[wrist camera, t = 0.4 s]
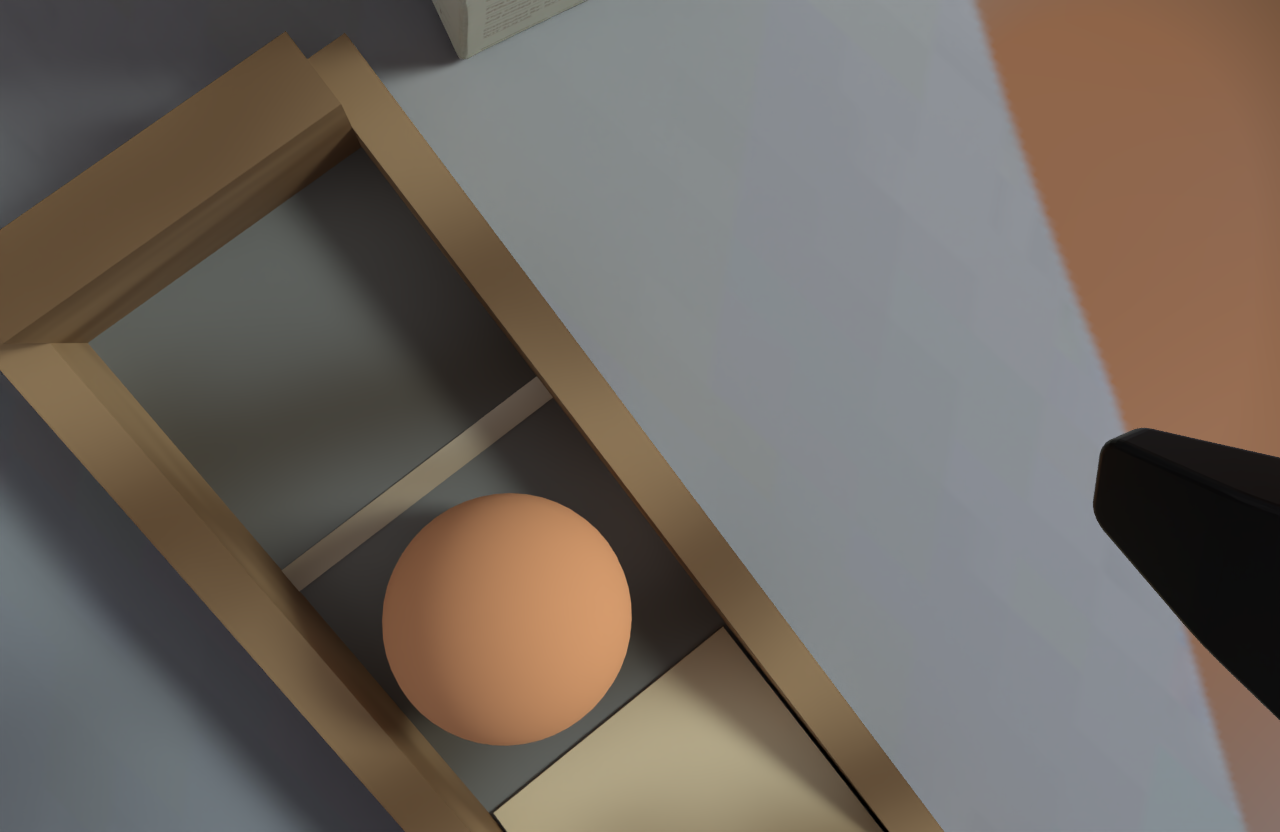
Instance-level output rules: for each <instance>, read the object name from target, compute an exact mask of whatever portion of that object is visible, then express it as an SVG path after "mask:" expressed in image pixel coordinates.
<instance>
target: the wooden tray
mask: <svg viewBox="0 0 1280 832" xmlns="http://www.w3.org/2000/svg"><path fill="white" fill-rule="evenodd" d="M0 370H1V372H2V373H3V374H4V375H5V376H6V377H7V378H8V380H9V381H10V382H11V383H12V384H13V385H14V386H15V388H16V389H17V390H18V391H19V392H20V393H21V394H22V396H23V397H24V398H25V399H26V400H27V401H28V402H29V404H30V405H31V406H32V407H33V408H34V409H35V410H36V412H37V413H38V414H39V415H40V416H41V417H42V418H43V420H44V421H45V422H46V423H47V424H48V425H49V426H50V427H51V429H52V430H53V431H54V432H55V433H56V434H57V435H58V437H59V438H60V439H61V440H62V441H63V442H64V443H65V445H66V446H67V447H68V448H69V449H70V450H71V451H72V453H73V454H74V455H75V456H76V457H77V458H78V459H79V461H80V462H81V463H82V464H83V465H84V466H85V467H86V469H87V470H88V471H89V472H90V473H91V474H92V475H93V476H94V478H95V479H96V480H97V481H98V482H99V483H100V484H101V486H102V487H103V488H104V489H105V490H106V491H107V492H108V494H109V495H110V496H111V497H112V498H113V499H114V500H115V502H116V503H117V504H118V505H119V506H120V507H121V508H122V510H123V511H124V512H125V513H126V514H127V515H128V516H129V518H130V519H131V520H132V521H133V522H134V523H135V524H136V526H137V527H138V528H139V529H140V530H141V531H142V532H143V533H144V535H145V536H146V537H147V538H148V539H149V540H150V541H151V543H152V544H153V545H154V546H155V547H156V548H157V549H158V551H159V552H160V553H161V554H162V555H163V556H164V557H165V559H166V560H167V561H168V562H169V563H170V564H171V565H172V567H173V568H174V569H175V570H176V571H177V572H178V573H179V575H180V576H181V577H182V578H183V579H184V580H185V581H186V583H187V584H188V585H189V586H190V587H191V588H192V589H193V590H194V592H195V593H196V594H197V595H198V596H199V597H200V598H201V600H202V601H203V602H204V603H205V604H206V605H207V606H208V608H209V609H210V610H211V611H212V612H213V613H214V614H215V616H216V617H217V618H218V619H219V620H220V621H221V622H222V624H223V625H224V626H225V627H226V628H227V629H228V630H229V632H230V633H231V634H232V635H233V636H234V637H235V638H236V639H237V641H238V642H239V643H240V644H241V645H242V646H243V647H244V649H245V650H246V651H247V652H248V653H249V654H250V655H251V657H252V658H253V659H254V660H255V661H256V662H257V663H258V665H259V666H260V667H261V668H262V669H263V670H264V671H265V673H266V674H267V675H268V676H269V677H270V678H271V679H272V681H273V682H274V683H275V684H276V685H277V686H278V687H279V689H280V690H281V691H282V692H283V693H284V694H285V695H286V696H287V698H288V699H289V700H290V701H291V702H292V703H293V704H294V706H295V707H296V708H297V709H298V710H299V711H300V712H301V714H302V715H303V716H304V717H305V718H306V719H307V720H308V722H309V723H310V724H311V725H312V726H313V727H314V728H315V730H316V731H317V732H318V733H319V734H320V735H321V736H322V738H323V739H324V740H325V741H326V742H327V743H328V744H329V746H330V747H331V748H332V749H333V750H334V751H335V752H336V753H337V755H338V756H339V757H340V758H341V759H342V760H343V761H344V763H345V764H346V765H347V766H348V767H349V768H350V769H351V771H352V772H353V773H354V774H355V775H356V776H357V777H358V779H359V780H360V781H361V782H362V783H363V784H364V785H365V787H366V788H367V789H368V790H369V791H370V792H371V793H372V795H373V796H374V797H375V798H376V799H377V800H378V801H379V802H380V804H381V805H382V806H383V807H384V808H385V809H386V810H387V812H388V813H389V814H390V815H391V816H392V817H393V818H394V820H395V821H396V822H397V823H398V824H399V825H400V826H401V828H402V829H403V830H404V831H405V832H944V831H943V829H942V828H941V827H940V825H939V824H938V823H937V821H936V820H935V819H934V817H933V816H932V815H931V813H930V812H929V811H928V809H927V808H926V807H925V805H924V804H923V803H922V801H921V800H920V799H919V797H918V796H917V795H916V793H915V792H914V791H913V789H912V788H911V787H910V785H909V784H908V783H907V781H906V780H905V779H904V777H903V776H902V775H901V773H900V772H899V771H898V769H897V768H896V767H895V765H894V764H893V763H892V761H891V760H890V759H889V757H888V756H887V755H886V753H885V752H884V751H883V749H882V748H881V747H880V745H879V744H878V743H877V741H876V740H875V739H874V737H873V736H872V735H871V733H870V732H869V731H868V729H867V728H866V727H865V725H864V724H863V723H862V721H861V720H860V719H859V717H858V716H857V715H856V713H855V712H854V711H853V709H852V708H851V707H850V705H849V704H848V703H847V701H846V700H845V699H844V697H843V696H842V695H841V693H840V692H839V691H838V689H837V688H836V687H835V685H834V684H833V683H832V682H831V680H830V679H829V678H828V676H827V675H826V674H825V672H824V671H823V670H822V668H821V667H820V666H819V664H818V663H817V662H816V660H815V659H814V658H813V656H812V655H811V654H810V652H809V651H808V650H807V648H806V647H805V646H804V644H803V643H802V642H801V640H800V639H799V638H798V636H797V635H796V634H795V632H794V631H793V630H792V628H791V627H790V626H789V624H788V623H787V622H786V620H785V619H784V618H783V616H782V615H781V614H780V612H779V611H778V610H777V608H776V607H775V606H774V604H773V603H772V602H771V600H770V599H769V598H768V596H767V595H766V594H765V592H764V591H763V590H762V588H761V587H760V586H759V584H758V583H757V582H756V580H755V579H754V578H753V576H752V575H751V574H750V572H749V571H748V570H747V568H746V567H745V566H744V564H743V563H742V562H741V560H740V559H739V558H738V556H737V555H736V554H735V552H734V551H733V550H732V548H731V547H730V546H729V544H728V543H727V542H726V540H725V539H724V538H723V536H722V535H721V534H720V532H719V531H718V530H717V528H716V527H715V526H714V524H713V523H712V522H711V520H710V519H709V518H708V516H707V515H706V514H705V512H704V511H703V510H702V508H701V507H700V506H699V504H698V503H697V502H696V500H695V499H694V498H693V496H692V495H691V494H690V492H689V491H688V490H687V488H686V487H685V486H684V484H683V483H682V482H681V480H680V479H679V478H678V476H677V475H676V474H675V472H674V471H673V470H672V468H671V467H670V466H669V464H668V463H667V462H666V460H665V459H664V458H663V456H662V455H661V454H660V452H659V451H658V450H657V448H656V447H655V446H654V444H653V443H652V442H651V440H650V439H649V438H648V436H647V435H646V434H645V432H644V431H643V430H642V428H641V427H640V426H639V424H638V423H637V422H636V420H635V419H634V418H633V416H632V415H631V414H630V412H629V411H628V410H627V408H626V407H625V406H624V404H623V403H622V402H621V400H620V399H619V398H618V396H617V395H616V394H615V392H614V391H613V390H612V388H611V387H610V386H609V384H608V383H607V382H606V380H605V379H604V378H603V376H602V375H601V374H600V372H599V371H598V370H597V368H596V367H595V366H594V364H593V363H592V362H591V360H590V359H589V358H588V356H587V355H586V354H585V352H584V351H583V350H582V348H581V347H580V346H579V344H578V343H577V342H576V340H575V339H574V338H573V336H572V335H571V334H570V332H569V331H568V330H567V328H566V327H565V326H564V324H563V323H562V322H561V320H560V319H559V318H558V316H557V315H556V314H555V312H554V311H553V310H552V308H551V307H550V306H549V304H548V303H547V302H546V300H545V299H544V298H543V296H542V295H541V294H540V292H539V291H538V290H537V288H536V287H535V286H534V284H533V283H532V282H531V280H530V279H529V278H528V276H527V275H526V274H525V272H524V271H523V270H522V268H521V267H520V266H519V264H518V263H517V262H516V260H515V259H514V258H513V256H512V255H511V254H510V252H509V251H508V250H507V248H506V247H505V246H504V244H503V243H502V242H501V240H500V239H499V238H498V236H497V235H496V234H495V232H494V231H493V230H492V228H491V227H490V226H489V224H488V223H487V222H486V220H485V219H484V218H483V216H482V215H481V214H480V212H479V211H478V210H477V208H476V207H475V206H474V204H473V203H472V202H471V200H470V199H469V198H468V196H467V195H466V194H465V192H464V191H463V190H462V188H461V187H460V186H459V184H458V183H457V182H456V180H455V179H454V178H453V176H452V175H451V174H450V172H449V171H448V170H447V168H446V167H445V166H444V164H443V163H442V162H441V160H440V159H439V158H438V156H437V155H436V154H435V152H434V151H433V150H432V148H431V147H430V146H429V144H428V143H427V142H426V140H425V139H424V138H423V136H422V135H421V134H420V132H419V131H418V130H417V128H416V127H415V126H414V124H413V123H412V122H411V120H410V119H409V118H408V116H407V115H406V114H405V112H404V111H403V110H402V108H401V107H400V106H399V104H398V103H397V102H396V100H395V99H394V98H393V96H392V95H391V94H390V92H389V91H388V90H387V88H386V87H385V86H384V84H383V83H382V82H381V80H380V79H379V78H378V76H377V75H376V74H375V72H374V71H373V70H372V68H371V67H370V66H369V64H368V63H367V62H366V60H365V59H364V58H363V56H362V55H361V54H360V52H359V51H358V50H357V48H356V47H355V46H354V44H353V43H352V42H351V40H350V39H349V38H348V36H347V35H346V34H345V33H344V34H343V35H341V36H340V37H338V38H337V39H335V40H334V41H333V42H331V43H330V44H328V45H327V46H325V47H324V48H323V49H321V50H320V51H318V52H317V53H315V54H314V55H313V56H311V57H310V58H308V59H307V58H306V57H305V56H304V55H303V53H302V52H301V51H300V49H299V48H298V47H297V45H296V44H295V43H294V41H293V40H292V39H291V37H290V36H289V35H288V33H287V32H286V31H285V32H284V33H282V34H281V35H279V36H278V37H277V38H275V39H274V40H272V41H271V42H269V43H268V44H267V45H265V46H264V47H262V48H261V49H259V50H258V51H256V52H255V53H254V54H252V55H251V56H249V57H248V58H246V59H245V60H244V61H242V62H241V63H239V64H238V65H236V66H235V67H233V68H232V69H231V70H229V71H228V72H226V73H225V74H223V75H222V76H221V77H219V78H218V79H216V80H215V81H213V82H212V83H210V84H209V85H208V86H206V87H205V88H203V89H202V90H200V91H199V92H198V93H196V94H195V95H193V96H192V97H190V98H189V99H187V100H186V101H185V102H183V103H182V104H180V105H179V106H177V107H176V108H175V109H173V110H172V111H170V112H169V113H167V114H166V115H164V116H163V117H162V118H160V119H159V120H157V121H156V122H154V123H153V124H151V125H150V126H149V127H147V128H146V129H144V130H143V131H141V132H140V133H139V134H137V135H136V136H134V137H133V138H131V139H130V140H128V141H127V142H126V143H124V144H123V145H121V146H120V147H118V148H117V149H116V150H114V151H113V152H111V153H110V154H108V155H107V156H105V157H104V158H103V159H101V160H100V161H98V162H97V163H95V164H94V165H93V166H91V167H90V168H88V169H87V170H85V171H84V172H82V173H81V174H80V175H78V176H77V177H75V178H74V179H72V180H71V181H70V182H68V183H67V184H65V185H64V186H62V187H61V188H59V189H58V190H57V191H55V192H54V193H52V194H51V195H49V196H48V197H47V198H45V199H44V200H42V201H41V202H39V203H38V204H36V205H35V206H34V207H32V208H31V209H29V210H28V211H26V212H25V213H24V214H22V215H21V216H19V217H18V218H16V219H15V220H13V221H12V222H11V223H9V224H8V225H6V226H5V227H3V228H2V229H1V230H0ZM504 493H517V494H528V495H533V496H538V497H543V498H546V499H549V500H551V501H554V502H557V503H559V504H561V505H563V506H565V507H567V508H569V509H571V510H572V511H574V512H575V513H577V514H578V515H580V516H581V517H583V518H584V519H586V520H587V521H588V522H589V523H590V524H591V525H592V526H593V527H595V528H596V529H597V530H598V531H599V532H600V534H601V535H602V536H603V537H604V538H605V540H606V541H607V542H608V543H609V545H610V547H611V548H612V550H613V551H614V553H615V554H616V556H617V558H618V561H619V563H620V565H621V567H622V569H623V572H624V574H625V578H626V581H627V584H628V588H629V593H630V599H631V614H632V621H631V631H630V640H629V644H628V648H627V653H626V656H625V658H624V661H623V664H622V666H621V669H620V671H619V673H618V675H617V677H616V678H615V680H614V682H613V684H612V685H611V687H610V688H609V689H608V691H607V692H606V694H605V695H604V697H603V698H602V699H601V700H600V701H599V702H598V703H597V705H596V706H595V707H594V708H593V709H592V710H591V711H590V712H589V713H587V714H586V715H585V716H584V717H583V718H582V719H581V720H579V721H578V722H576V723H575V724H573V725H572V726H570V727H569V728H567V729H565V730H563V731H561V732H559V733H557V734H555V735H553V736H550V737H548V738H545V739H542V740H539V741H535V742H531V743H527V744H520V745H510V746H500V745H488V744H481V743H476V742H473V741H469V740H466V739H462V738H460V737H458V736H456V735H453V734H451V733H449V732H447V731H445V730H444V729H442V728H440V727H439V726H437V725H435V724H434V723H432V722H431V721H430V720H429V719H427V718H426V717H425V716H424V715H422V714H421V713H420V712H419V711H418V710H417V709H416V708H415V706H414V705H413V704H412V703H411V702H410V701H409V700H408V698H407V697H406V695H405V694H404V692H403V691H402V690H401V688H400V686H399V684H398V682H397V680H396V678H395V676H394V674H393V672H392V670H391V668H390V665H389V662H388V659H387V656H386V652H385V647H384V641H383V628H382V615H383V604H384V598H385V594H386V589H387V585H388V583H389V580H390V577H391V575H392V572H393V570H394V568H395V566H396V564H397V562H398V560H399V558H400V557H401V555H402V553H403V552H404V550H405V549H406V548H407V546H408V545H409V543H410V542H411V541H412V539H413V538H414V537H415V536H416V535H417V534H418V533H419V532H420V531H421V530H422V529H423V528H424V527H425V526H426V525H427V524H428V523H430V522H431V521H432V520H433V519H434V518H436V517H437V516H439V515H440V514H442V513H444V512H445V511H447V510H448V509H450V508H452V507H454V506H456V505H459V504H461V503H463V502H465V501H468V500H472V499H475V498H478V497H482V496H487V495H493V494H504Z"/></svg>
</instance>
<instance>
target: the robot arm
mask: <svg viewBox="0 0 1280 832" xmlns="http://www.w3.org/2000/svg"><path fill="white" fill-rule="evenodd" d="M1093 509H1094V514H1095V516H1096V519H1097V521H1098V523H1099V525H1100V526H1101V528H1102V529H1103V530H1104V532H1105V533H1106V534H1107V535H1108V536H1109V537H1110V539H1111V540H1112V541H1113V542H1114V543H1115V544H1116V546H1117V547H1118V548H1119V549H1120V550H1121V551H1122V553H1123V554H1124V555H1125V556H1126V557H1127V558H1128V560H1129V561H1130V562H1131V563H1132V564H1133V565H1134V567H1135V568H1136V569H1137V570H1138V571H1139V572H1140V574H1141V575H1142V576H1143V577H1144V578H1145V579H1146V581H1147V582H1148V583H1149V584H1150V585H1151V586H1152V588H1153V589H1154V590H1155V591H1156V592H1157V593H1158V595H1159V596H1160V597H1161V598H1162V599H1163V600H1164V602H1165V603H1166V604H1167V605H1168V606H1169V607H1170V609H1171V610H1172V611H1173V612H1174V613H1175V614H1176V616H1177V617H1178V618H1179V619H1180V620H1181V621H1182V623H1183V624H1184V625H1185V626H1186V627H1187V628H1188V629H1189V630H1190V632H1191V633H1192V634H1193V635H1194V636H1195V637H1196V638H1197V639H1198V640H1199V641H1200V643H1201V644H1202V645H1203V646H1204V647H1205V648H1206V649H1207V650H1208V651H1209V652H1210V653H1211V654H1212V655H1213V656H1214V657H1215V658H1216V659H1217V660H1218V661H1219V662H1220V663H1221V664H1222V665H1223V666H1224V667H1225V668H1226V669H1227V670H1228V671H1229V672H1230V673H1231V674H1232V675H1233V676H1234V677H1235V678H1236V679H1237V680H1238V681H1240V682H1241V683H1242V684H1243V685H1244V686H1245V687H1246V688H1247V689H1248V690H1249V691H1250V692H1251V693H1252V694H1253V695H1254V696H1255V697H1256V698H1257V699H1258V700H1259V701H1260V702H1261V703H1262V704H1263V705H1264V706H1266V707H1267V708H1268V709H1269V710H1270V711H1271V712H1272V713H1273V714H1274V715H1275V716H1276V717H1277V718H1278V719H1279V720H1280V458H1279V457H1275V456H1270V455H1266V454H1261V453H1257V452H1253V451H1247V450H1243V449H1239V448H1235V447H1230V446H1225V445H1221V444H1217V443H1212V442H1208V441H1203V440H1198V439H1195V438H1190V437H1186V436H1181V435H1177V434H1172V433H1168V432H1163V431H1159V430H1155V429H1149V428H1139V429H1134V430H1132V431H1129V432H1127V433H1125V434H1122V435H1120V436H1118V437H1116V438H1113V439H1111V440H1109V441H1108V442H1106V443H1105V445H1104V446H1103V447H1102V449H1101V452H1100V456H1099V463H1098V470H1097V478H1096V485H1095V492H1094V499H1093Z"/></svg>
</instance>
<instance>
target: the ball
mask: <svg viewBox="0 0 1280 832" xmlns="http://www.w3.org/2000/svg"><path fill="white" fill-rule="evenodd" d="M631 621H632V614H631V599H630V593H629V588H628V584H627V581H626V578H625V574H624V572H623V569H622V567H621V565H620V563H619V561H618V558H617V556H616V554H615V553H614V551H613V550H612V548H611V547H610V545H609V543H608V542H607V541H606V540H605V538H604V537H603V536H602V535H601V534H600V532H599V531H598V530H597V529H596V528H595V527H593V526H592V525H591V524H590V523H589V522H588V521H587V520H586V519H584V518H583V517H581V516H580V515H578V514H577V513H575V512H574V511H572V510H571V509H569V508H567V507H565V506H563V505H561V504H559V503H557V502H554V501H551V500H549V499H546V498H543V497H538V496H533V495H528V494H517V493H504V494H493V495H487V496H482V497H478V498H475V499H472V500H468V501H465V502H463V503H461V504H459V505H456V506H454V507H452V508H450V509H448V510H447V511H445V512H444V513H442V514H440V515H439V516H437V517H436V518H434V519H433V520H432V521H431V522H430V523H428V524H427V525H426V526H425V527H424V528H423V529H422V530H421V531H420V532H419V533H418V534H417V535H416V536H415V537H414V538H413V539H412V541H411V542H410V543H409V545H408V546H407V548H406V549H405V550H404V552H403V553H402V555H401V557H400V558H399V560H398V562H397V564H396V566H395V568H394V570H393V572H392V575H391V577H390V580H389V583H388V585H387V589H386V594H385V598H384V604H383V615H382V628H383V641H384V647H385V652H386V656H387V659H388V662H389V665H390V668H391V670H392V672H393V674H394V676H395V678H396V680H397V682H398V684H399V686H400V688H401V690H402V691H403V692H404V694H405V695H406V697H407V698H408V700H409V701H410V702H411V703H412V704H413V705H414V706H415V708H416V709H417V710H418V711H419V712H420V713H421V714H422V715H424V716H425V717H426V718H427V719H429V720H430V721H431V722H432V723H434V724H435V725H437V726H439V727H440V728H442V729H444V730H445V731H447V732H449V733H451V734H453V735H456V736H458V737H460V738H462V739H466V740H469V741H473V742H476V743H481V744H488V745H500V746H510V745H520V744H527V743H531V742H535V741H539V740H542V739H545V738H548V737H550V736H553V735H555V734H557V733H559V732H561V731H563V730H565V729H567V728H569V727H570V726H572V725H573V724H575V723H576V722H578V721H579V720H581V719H582V718H583V717H584V716H585V715H586V714H587V713H589V712H590V711H591V710H592V709H593V708H594V707H595V706H596V705H597V703H598V702H599V701H600V700H601V699H602V698H603V697H604V695H605V694H606V692H607V691H608V689H609V688H610V687H611V685H612V684H613V682H614V680H615V678H616V677H617V675H618V673H619V671H620V669H621V666H622V664H623V661H624V658H625V656H626V653H627V648H628V644H629V640H630V631H631Z"/></svg>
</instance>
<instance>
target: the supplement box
mask: <svg viewBox="0 0 1280 832" xmlns="http://www.w3.org/2000/svg"><path fill="white" fill-rule="evenodd" d="M585 1H587V0H432V2H433V4H434V6H435V8H436V10H437V12H438V14H439V17H440V19H441V21H442V23H443V25H444V27H445V29H446V31H447V34H448V36H449V38H450V40H451V42H452V45H453V47H454V49H455V51H456V53H457V55H458V57H459V58H460V59H468V58H470V57H472V56H473V55H475V54H477V53H479V52H481V51H483V50H485V49H487V48H489V47H491V46H493V45H495V44H497V43H499V42H501V41H503V40H505V39H507V38H509V37H511V36H514V35H516V34H518V33H520V32H522V31H524V30H526V29H528V28H530V27H532V26H534V25H536V24H538V23H540V22H543V21H545V20H547V19H549V18H551V17H553V16H555V15H557V14H559V13H561V12H563V11H566V10H568V9H570V8H572V7H574V6H576V5H578V4H580V3H583V2H585Z"/></svg>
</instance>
